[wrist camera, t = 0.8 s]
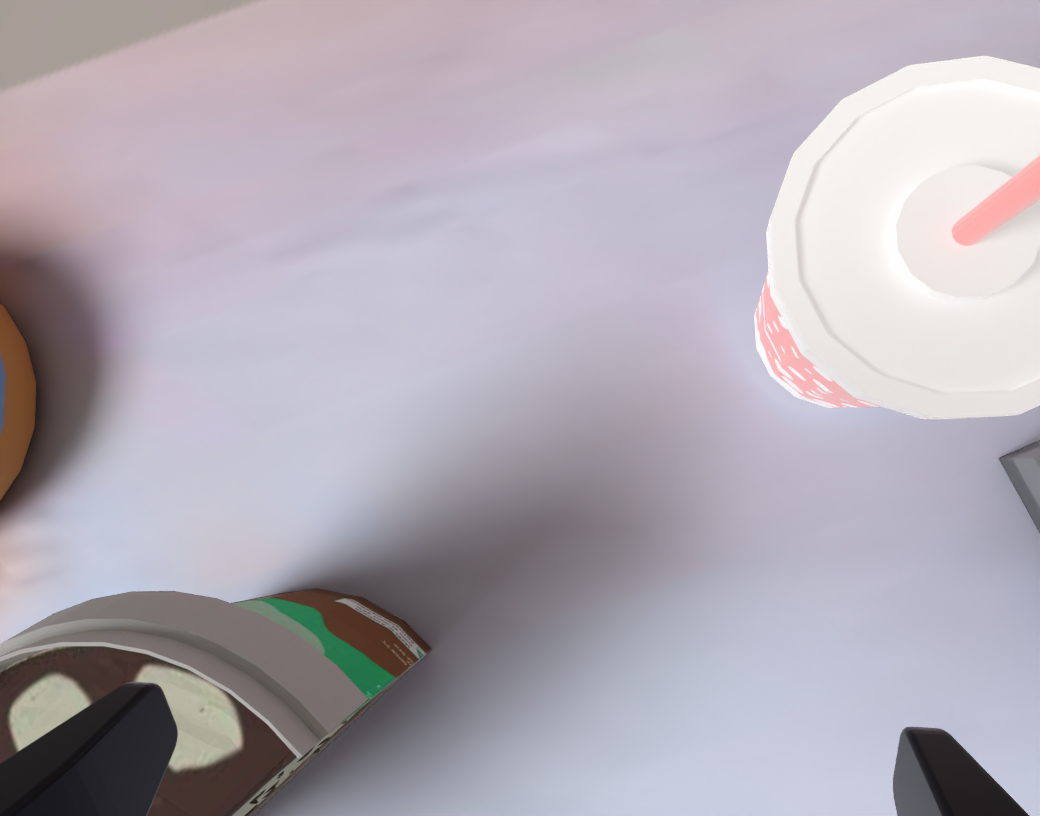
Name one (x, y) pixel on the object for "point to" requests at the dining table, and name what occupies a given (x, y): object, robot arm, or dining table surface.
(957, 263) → the beverage cup
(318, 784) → the dining table surface
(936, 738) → the robot arm
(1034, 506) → the tray
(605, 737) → the dining table surface
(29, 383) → the doughnut
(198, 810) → the food container
